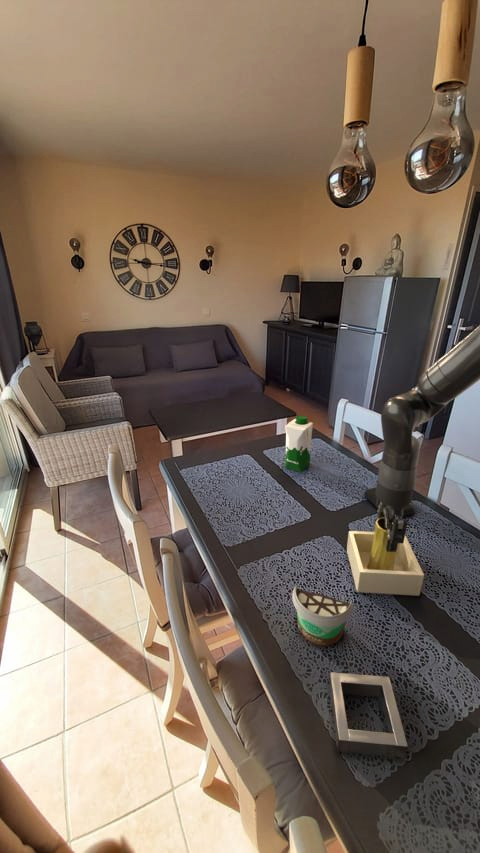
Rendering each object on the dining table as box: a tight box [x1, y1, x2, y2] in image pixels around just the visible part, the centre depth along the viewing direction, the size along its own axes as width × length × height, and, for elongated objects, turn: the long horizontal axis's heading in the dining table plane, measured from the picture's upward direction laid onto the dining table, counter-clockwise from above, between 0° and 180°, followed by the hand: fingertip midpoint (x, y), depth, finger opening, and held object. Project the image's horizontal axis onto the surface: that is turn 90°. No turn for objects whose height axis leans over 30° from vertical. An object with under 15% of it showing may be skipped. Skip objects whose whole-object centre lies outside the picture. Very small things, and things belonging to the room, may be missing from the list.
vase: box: [367, 517, 396, 571], centre depth 87 cm, size 6×6×14 cm
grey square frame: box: [328, 671, 409, 759], centre depth 61 cm, size 10×10×4 cm
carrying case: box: [364, 487, 416, 518], centre depth 114 cm, size 11×3×15 cm
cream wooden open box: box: [346, 530, 425, 597], centre depth 89 cm, size 14×14×7 cm
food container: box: [291, 585, 354, 647], centre depth 73 cm, size 12×6×10 cm, turn 68°
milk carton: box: [284, 414, 314, 473], centre depth 134 cm, size 9×9×20 cm
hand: (385, 538), depth 86 cm, fingers open, 7 cm apart
